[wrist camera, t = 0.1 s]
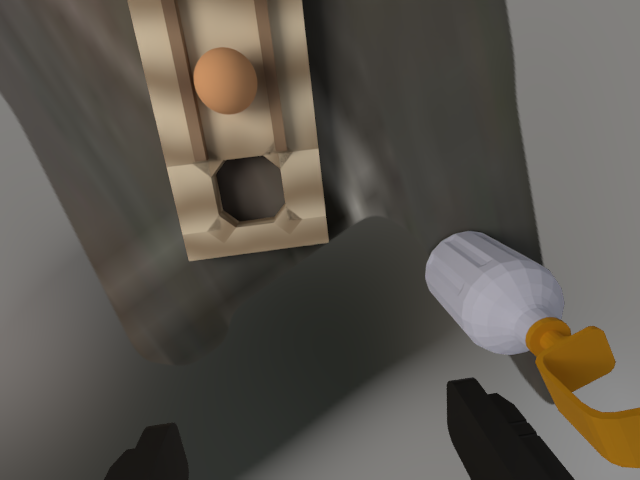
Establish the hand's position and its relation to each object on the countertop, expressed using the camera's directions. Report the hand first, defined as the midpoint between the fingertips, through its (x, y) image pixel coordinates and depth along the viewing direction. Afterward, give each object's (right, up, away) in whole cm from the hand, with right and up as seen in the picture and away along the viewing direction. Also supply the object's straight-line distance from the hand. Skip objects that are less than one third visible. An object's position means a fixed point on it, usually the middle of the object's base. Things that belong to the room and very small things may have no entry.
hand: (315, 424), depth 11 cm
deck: (-7, +16, +25) cm, 31 cm away
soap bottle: (+16, +2, +32) cm, 36 cm away
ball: (-7, +18, +19) cm, 27 cm away
